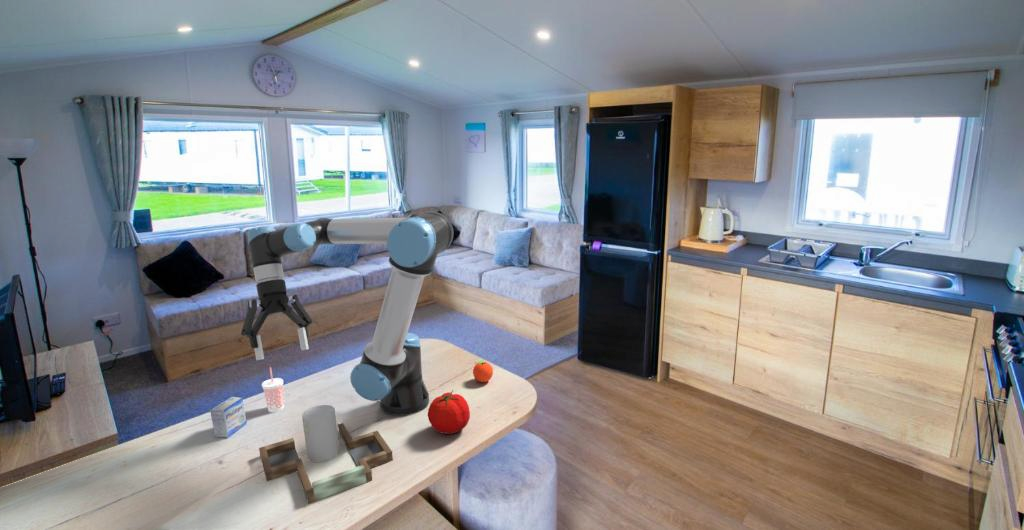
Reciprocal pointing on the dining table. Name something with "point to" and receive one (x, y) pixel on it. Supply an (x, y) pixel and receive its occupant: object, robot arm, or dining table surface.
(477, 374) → the clementine
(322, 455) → the gray cylinder
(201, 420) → the dining table surface
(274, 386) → the beverage cup
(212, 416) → the medicine box
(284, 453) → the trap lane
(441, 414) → the tomato
